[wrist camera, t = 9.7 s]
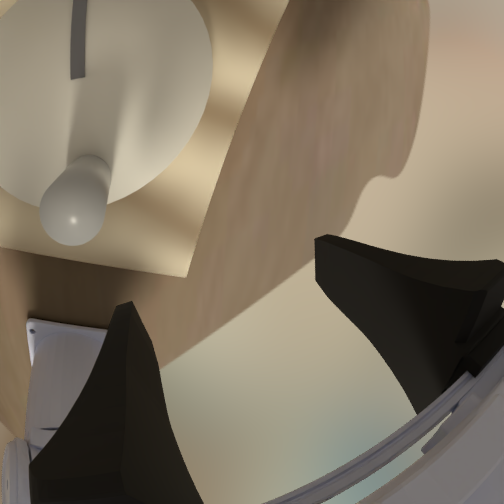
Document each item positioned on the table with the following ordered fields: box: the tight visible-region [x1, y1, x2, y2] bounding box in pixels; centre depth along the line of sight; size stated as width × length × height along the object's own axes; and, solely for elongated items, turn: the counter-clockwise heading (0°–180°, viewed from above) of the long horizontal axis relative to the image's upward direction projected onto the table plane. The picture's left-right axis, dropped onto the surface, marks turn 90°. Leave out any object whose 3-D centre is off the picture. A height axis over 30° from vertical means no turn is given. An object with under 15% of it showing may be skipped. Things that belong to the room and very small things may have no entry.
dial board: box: [0, 0, 289, 278], centre depth 12 cm, size 22×18×2 cm
